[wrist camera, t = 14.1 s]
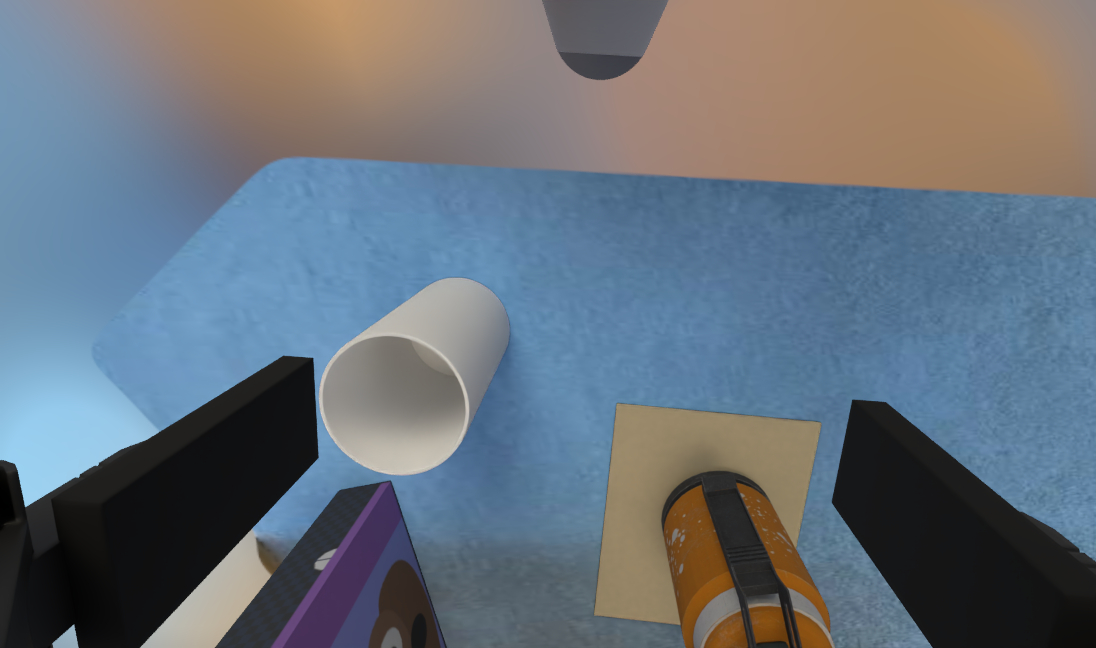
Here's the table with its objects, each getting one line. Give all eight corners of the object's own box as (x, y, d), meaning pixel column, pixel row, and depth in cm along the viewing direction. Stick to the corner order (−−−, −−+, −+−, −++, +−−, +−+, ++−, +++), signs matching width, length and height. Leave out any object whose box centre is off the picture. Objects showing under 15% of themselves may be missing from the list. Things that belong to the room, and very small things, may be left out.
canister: (668, 568, 51) (714, 812, 32) (648, 451, 48) (686, 638, 29) (776, 555, 50) (892, 800, 30) (762, 435, 47) (879, 618, 28)
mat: (616, 402, 48) (616, 404, 47) (820, 421, 47) (821, 423, 47) (594, 613, 53) (594, 615, 53) (777, 633, 52) (778, 636, 52)
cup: (519, 290, 46) (483, 352, 31) (498, 388, 48) (454, 491, 33) (416, 266, 46) (327, 315, 31) (399, 364, 48) (309, 456, 33)
